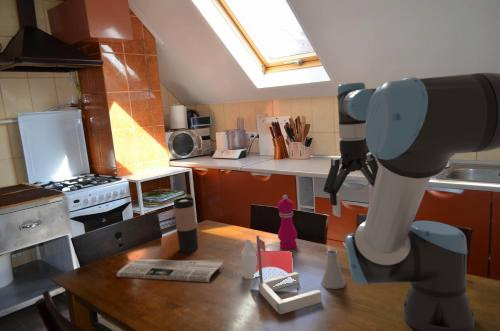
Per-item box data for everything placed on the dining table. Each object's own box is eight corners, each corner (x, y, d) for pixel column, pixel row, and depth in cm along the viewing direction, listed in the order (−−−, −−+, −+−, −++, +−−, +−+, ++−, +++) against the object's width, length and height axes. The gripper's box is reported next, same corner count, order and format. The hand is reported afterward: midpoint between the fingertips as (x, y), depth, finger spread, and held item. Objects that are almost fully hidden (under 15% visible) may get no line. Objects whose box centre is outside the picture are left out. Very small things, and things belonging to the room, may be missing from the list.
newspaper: (117, 278, 127) (115, 268, 127) (137, 262, 139) (136, 253, 138) (213, 284, 117) (212, 273, 117) (226, 266, 129) (225, 257, 129)
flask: (344, 278, 113) (342, 246, 112) (348, 289, 106) (346, 256, 105) (320, 278, 114) (318, 247, 113) (322, 290, 107) (320, 257, 105)
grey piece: (253, 243, 115) (236, 242, 116) (256, 280, 116) (239, 278, 118) (259, 236, 120) (243, 235, 122) (262, 271, 122) (246, 270, 124)
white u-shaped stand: (321, 302, 101) (318, 242, 98) (279, 314, 96) (275, 252, 94) (296, 281, 114) (293, 227, 111) (258, 291, 109) (254, 235, 107)
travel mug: (177, 248, 149) (171, 199, 146) (195, 243, 152) (190, 196, 149) (182, 254, 142) (176, 203, 139) (201, 249, 145) (196, 199, 142)
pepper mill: (276, 249, 139) (273, 197, 136) (280, 242, 146) (277, 192, 143) (296, 250, 137) (292, 197, 134) (299, 243, 144) (296, 192, 141)
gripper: (378, 133, 114) (379, 201, 118) (308, 142, 105) (312, 216, 109) (396, 134, 107) (397, 206, 111) (323, 144, 98) (327, 223, 102)
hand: (355, 211), depth 110 cm, fingers open, 12 cm apart
